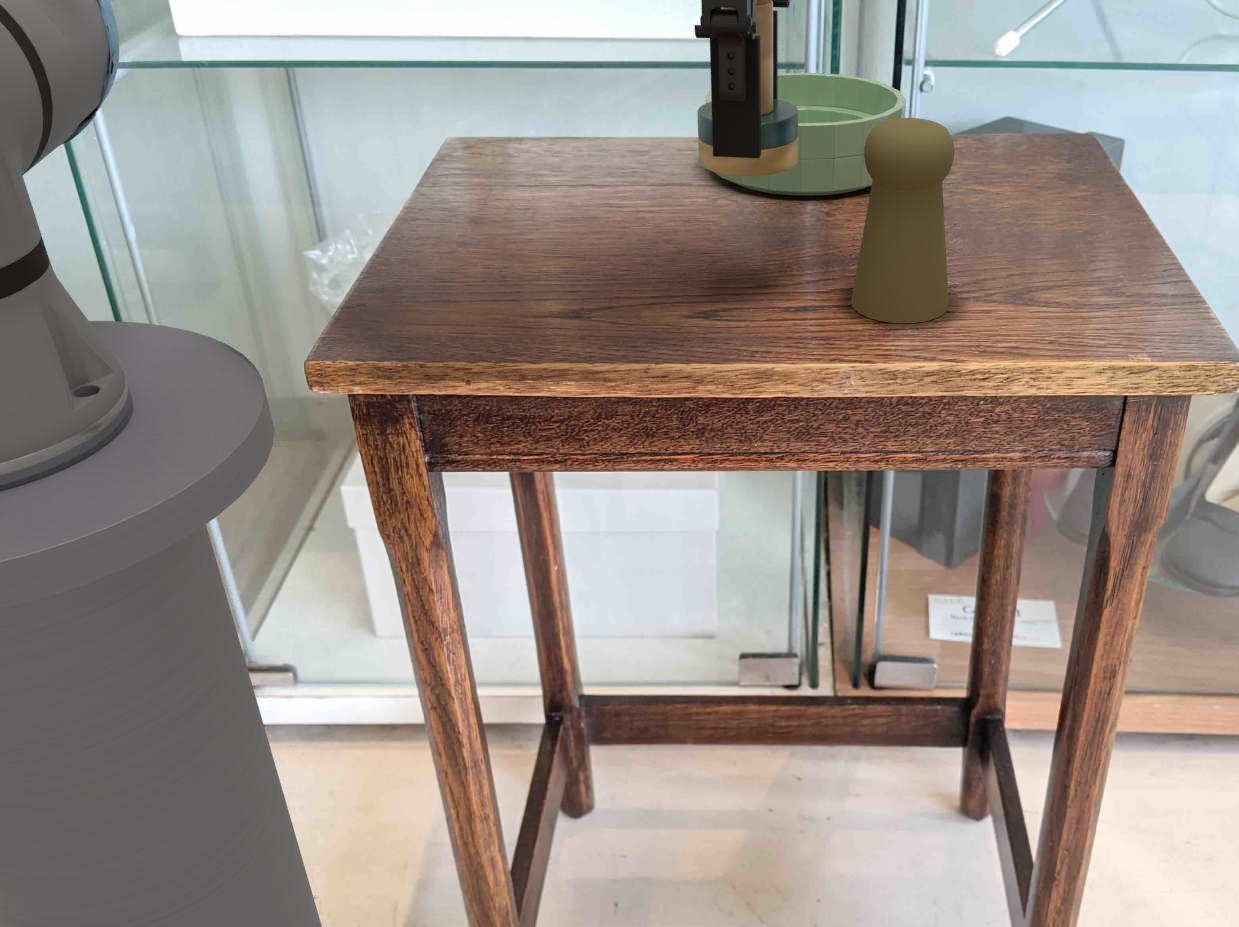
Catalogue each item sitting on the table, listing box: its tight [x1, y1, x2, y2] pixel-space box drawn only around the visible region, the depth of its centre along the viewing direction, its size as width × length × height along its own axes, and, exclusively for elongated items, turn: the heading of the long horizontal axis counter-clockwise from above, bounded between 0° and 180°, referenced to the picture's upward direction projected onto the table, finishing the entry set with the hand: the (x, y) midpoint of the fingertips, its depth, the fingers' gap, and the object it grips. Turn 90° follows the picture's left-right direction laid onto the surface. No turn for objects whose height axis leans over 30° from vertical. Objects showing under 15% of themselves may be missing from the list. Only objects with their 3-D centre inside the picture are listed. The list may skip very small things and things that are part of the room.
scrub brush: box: [696, 0, 799, 176], centre depth 76 cm, size 6×6×9 cm
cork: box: [850, 117, 955, 324], centre depth 77 cm, size 6×6×11 cm
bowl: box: [705, 72, 907, 197], centre depth 101 cm, size 15×15×6 cm
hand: (746, 138), depth 78 cm, fingers closed on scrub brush, 6 cm apart
